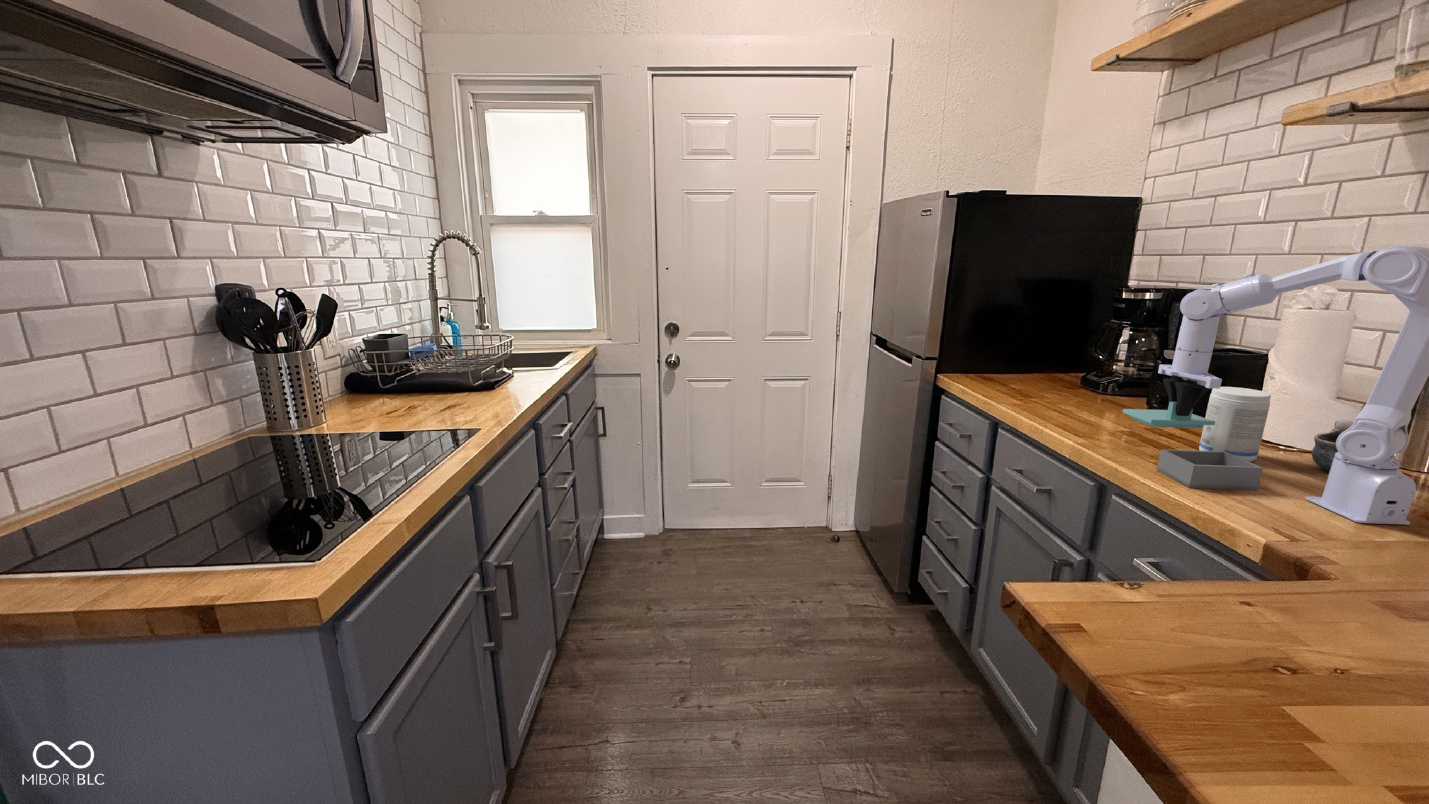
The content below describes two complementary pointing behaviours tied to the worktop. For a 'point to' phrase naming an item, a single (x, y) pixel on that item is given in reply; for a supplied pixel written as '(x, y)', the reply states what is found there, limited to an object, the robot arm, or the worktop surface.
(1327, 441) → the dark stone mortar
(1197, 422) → the lid
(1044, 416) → the worktop surface
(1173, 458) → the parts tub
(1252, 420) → the supplement tub
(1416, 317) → the robot arm
